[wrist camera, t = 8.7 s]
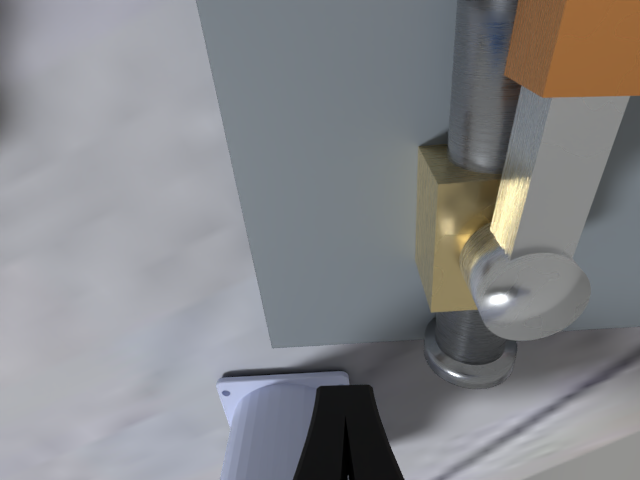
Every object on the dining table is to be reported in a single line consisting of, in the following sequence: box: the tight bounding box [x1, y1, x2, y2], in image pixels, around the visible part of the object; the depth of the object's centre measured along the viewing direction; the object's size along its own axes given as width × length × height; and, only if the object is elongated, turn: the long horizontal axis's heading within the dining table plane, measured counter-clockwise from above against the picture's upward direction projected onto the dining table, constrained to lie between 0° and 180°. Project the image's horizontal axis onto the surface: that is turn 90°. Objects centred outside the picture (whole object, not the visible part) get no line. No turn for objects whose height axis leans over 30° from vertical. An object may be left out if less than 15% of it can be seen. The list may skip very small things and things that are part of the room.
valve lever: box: [459, 0, 640, 341], centre depth 12 cm, size 12×3×2 cm, turn 1°
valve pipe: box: [415, 0, 522, 389], centre depth 17 cm, size 18×5×4 cm, turn 5°
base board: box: [196, 0, 640, 348], centre depth 18 cm, size 18×20×1 cm
